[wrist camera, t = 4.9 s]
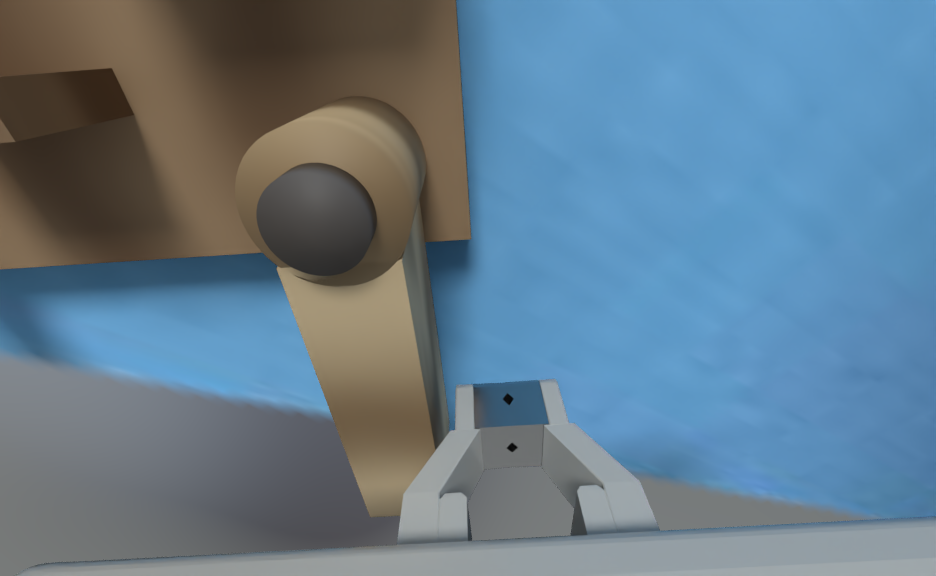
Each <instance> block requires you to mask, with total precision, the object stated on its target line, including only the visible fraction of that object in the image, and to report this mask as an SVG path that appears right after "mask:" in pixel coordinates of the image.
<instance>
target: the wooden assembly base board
mask: <svg viewBox="0 0 936 576" xmlns="http://www.w3.org/2000/svg"><path fill="white" fill-rule="evenodd" d="M351 96H364V97H371V98H374V99H378V100H380V101H383V102H385V103H387V104H389V105H390V106H392V107H394V108H395V109H397V110H398V111H399V112H400V113H402V114H403V115H404V116H405V117H406V118H407V119H408V120H409V122H410V123H411V124H412V125H413V127H414V128H415V130H416V132H417V133H418V135H419V137H420V139H421V142H422V145H423V148H424V152H425V157H426V174H425V179H424V183H423V187H422V190H421V194H420V198H419V201H420V208H421V216H422V223H423V231H424V238H425V242H436V241H451V240H467V239H471V228H470V209H469V193H468V177H467V162H466V146H465V131H464V115H463V100H462V84H461V69H460V53H459V38H458V22H457V7H456V0H0V269H13V268H29V267H45V266H60V265H76V264H92V263H107V262H123V261H139V260H154V259H170V258H185V257H201V256H217V255H232V254H248V253H262V252H261V250H260V249H259V248H258V247H257V246H256V245H255V243H254V242H253V241H252V239H251V238H250V236H249V234H248V233H247V231H246V229H245V227H244V225H243V223H242V221H241V218H240V215H239V212H238V209H237V204H236V199H235V182H236V175H237V171H238V168H239V165H240V163H241V161H242V158H243V156H244V155H245V154H246V152H247V151H248V149H249V148H250V147H251V146H252V145H253V144H254V143H255V142H256V141H257V140H258V139H259V138H261V137H262V136H263V135H265V134H266V133H268V132H270V131H272V130H274V129H276V128H279V127H281V126H283V125H285V124H287V123H289V122H291V121H293V120H295V119H298V118H300V117H302V116H304V115H306V114H308V113H310V112H312V111H314V110H317V109H319V108H321V107H323V106H325V105H327V104H329V103H331V102H333V101H335V100H338V99H341V98H344V97H351Z"/></svg>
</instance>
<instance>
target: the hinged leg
mask: <svg viewBox="0 0 936 576" xmlns="http://www.w3.org/2000/svg"><path fill="white" fill-rule="evenodd" d="M425 174H426V157H425V152H424V148H423V145H422V142H421V139H420V137H419V135H418V133H417V132H416V130H415V128H414V127H413V125H412V124H411V123H410V122H409V120H408V119H407V118H406V117H405V116H404V115H403V114H402V113H400V112H399V111H398V110H397V109H395V108H394V107H392V106H390V105H389V104H387V103H385V102H383V101H380V100H378V99H374V98H371V97H364V96H351V97H344V98H341V99H338V100H335V101H333V102H331V103H329V104H327V105H325V106H323V107H321V108H319V109H317V110H314V111H312V112H310V113H308V114H306V115H304V116H302V117H300V118H298V119H295V120H293V121H291V122H289V123H287V124H285V125H283V126H281V127H279V128H276V129H274V130H272V131H270V132H268V133H266V134H265V135H263V136H262V137H261V138H259V139H258V140H257V141H256V142H255V143H254V144H253V145H252V146H251V147H250V148H249V149H248V151H247V152H246V154H245V155H244V156H243V158H242V161H241V163H240V165H239V168H238V171H237V175H236V182H235V199H236V204H237V209H238V212H239V215H240V218H241V221H242V223H243V225H244V227H245V229H246V231H247V233H248V234H249V236H250V238H251V239H252V241H253V242H254V243H255V245H256V246H257V247H258V248H259V249H260V250H261V252H262V253H263V254H264V255H265V256H266V257H267V258H269V259H270V260H271V261H272V262H273V263H275V264H276V265H277V266H278V267H277V268H276V269H277V271H278V274H279V276H280V279H281V282H282V284H283V287H284V290H285V292H286V295H287V298H288V300H289V303H290V306H291V308H292V311H293V314H294V316H295V319H296V322H297V324H298V327H299V330H300V332H301V335H302V338H303V340H304V343H305V345H306V348H307V351H308V353H309V356H310V359H311V361H312V364H313V367H314V369H315V372H316V375H317V377H318V380H319V383H320V385H321V388H322V391H323V393H324V396H325V399H326V401H327V404H328V406H329V409H330V412H331V414H332V417H333V420H334V422H335V425H336V427H337V430H338V433H339V436H340V438H341V441H342V443H343V446H344V448H345V451H346V454H347V457H348V460H349V462H350V465H351V467H352V470H353V473H354V475H355V478H356V481H357V483H358V486H359V489H360V491H361V494H362V496H363V499H364V502H365V505H366V507H367V510H368V513H369V515H370V517H385V516H401V509H402V501H403V494H404V493H405V491H406V490H407V489H408V487H409V486H410V485H411V483H412V482H413V480H414V479H415V478H416V476H417V475H418V474H419V472H420V471H421V470H422V468H423V467H424V465H425V464H426V463H427V461H428V460H429V459H430V457H431V456H432V455H433V453H434V452H435V451H436V449H437V448H438V446H439V445H440V444H441V442H442V441H443V440H444V438H445V437H446V436H447V434H448V433H449V415H448V408H447V400H446V393H445V386H444V378H443V371H442V363H441V356H440V349H439V341H438V334H437V327H436V319H435V312H434V304H433V297H432V290H431V282H430V275H429V267H428V260H427V253H426V245H425V238H424V231H423V223H422V216H421V208H420V201H419V198H420V194H421V190H422V187H423V183H424V179H425Z"/></svg>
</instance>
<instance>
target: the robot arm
mask: <svg viewBox="0 0 936 576" xmlns="http://www.w3.org/2000/svg"><path fill="white" fill-rule="evenodd" d="M532 466H533V467H536V466H542V469H543V470H544V471H545V472H546V474H547V475H548V476H549V477H550V479H551V480H552V481H553V482H554V484H555V485H556V486H557V488H558V489H559V490H560V491H561V492H562V494H563V495H564V496H565V498H566V499H567V500H568V501H569V502H570V504H571V505H572V506H573V508H574V515H573V522H572V529H571V536H555V537H536V538H518V539H499V540H481V541H472V535H471V527H470V519H469V511H468V501H469V499H470V497H471V495H472V493H473V491H474V489H475V488H476V486H477V484H478V482H479V480H480V478H481V476H482V474H483V472H484V470H485V469H497V468H509V467H532ZM15 576H936V516H932V517H913V518H894V519H875V520H856V521H838V522H821V523H820V522H819V523H801V524H782V525H762V526H744V527H725V528H706V529H687V530H668V531H660V529H659V527H658V524H657V522H656V519H655V517H654V514H653V512H652V510H651V507H650V505H649V502H648V500H647V497H646V495H645V492H644V490H643V487H642V485H641V483H640V481H639V480H638V479H637V478H636V477H634V476H633V475H632V474H631V473H630V472H629V471H628V470H627V469H625V468H624V467H623V466H622V465H621V464H620V463H619V462H618V461H616V460H615V459H614V458H613V457H612V456H611V455H610V454H608V453H607V452H606V451H605V450H604V449H603V448H602V447H601V446H599V445H598V444H597V443H596V442H595V441H594V440H593V439H592V438H590V437H589V436H588V435H587V434H586V433H585V432H584V431H583V430H581V429H580V428H579V427H578V426H577V425H576V424H575V423H569V421H568V417H567V414H566V410H565V407H564V404H563V400H562V397H561V393H560V390H559V386H558V383H557V381H556V380H555V379H546V380H531V381H518V382H505V383H485V384H467V385H456V401H455V430H451V431H449V433H448V434H447V436H446V437H445V438H444V440H443V441H442V442H441V444H440V445H439V446H438V448H437V449H436V451H435V452H434V453H433V455H432V456H431V457H430V459H429V460H428V461H427V463H426V464H425V465H424V467H423V468H422V470H421V471H420V472H419V474H418V475H417V476H416V478H415V479H414V480H413V482H412V483H411V485H410V486H409V487H408V489H407V490H406V491H405V493H404V494H403V501H402V509H401V517H400V524H399V532H398V539H397V545H386V546H368V547H349V548H329V549H311V550H291V551H272V552H253V553H233V554H214V555H195V556H176V557H157V558H137V559H120V560H101V561H100V560H99V561H79V562H55V563H44V564H39V565H35V566H32V567H29V568H27V569H25V570H23V571H21V572H20V573H18V574H16V575H15Z"/></svg>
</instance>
